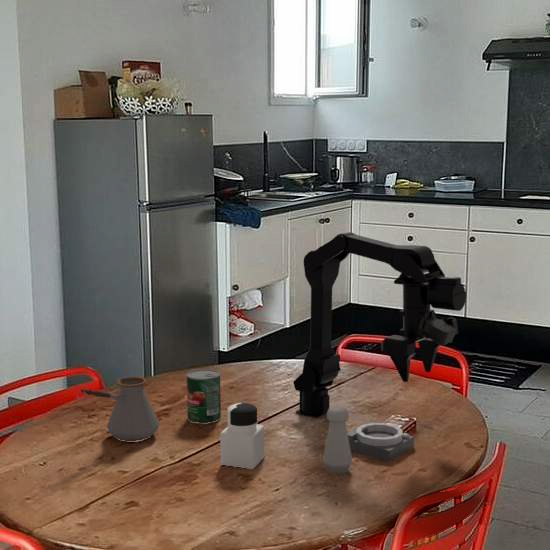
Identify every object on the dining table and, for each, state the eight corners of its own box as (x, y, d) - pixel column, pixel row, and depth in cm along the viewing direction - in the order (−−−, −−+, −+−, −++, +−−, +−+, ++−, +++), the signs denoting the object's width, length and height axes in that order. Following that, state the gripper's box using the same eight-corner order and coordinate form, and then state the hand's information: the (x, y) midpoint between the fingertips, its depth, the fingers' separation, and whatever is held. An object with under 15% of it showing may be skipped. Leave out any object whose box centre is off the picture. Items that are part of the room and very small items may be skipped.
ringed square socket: (344, 449, 182) (344, 431, 181) (369, 436, 190) (370, 419, 189) (389, 462, 175) (389, 443, 174) (413, 447, 183) (414, 429, 182)
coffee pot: (131, 424, 198) (129, 361, 195) (170, 433, 192) (168, 369, 189) (63, 454, 180) (59, 385, 178) (102, 465, 174) (99, 395, 172)
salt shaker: (350, 477, 168) (350, 414, 165) (321, 475, 169) (321, 412, 167) (353, 466, 173) (354, 404, 171) (325, 463, 174) (325, 402, 172)
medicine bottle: (265, 457, 178) (264, 402, 176) (253, 470, 172) (252, 413, 169) (233, 453, 180) (232, 398, 178) (220, 466, 174) (219, 409, 172)
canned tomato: (181, 422, 199) (180, 376, 197) (196, 411, 207) (195, 367, 205) (212, 426, 196) (211, 380, 194) (226, 415, 204) (226, 371, 202)
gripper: (427, 317, 170) (427, 393, 172) (472, 302, 184) (471, 373, 186) (379, 311, 177) (380, 384, 179) (426, 297, 191) (426, 365, 193)
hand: (416, 376), depth 184 cm, fingers open, 9 cm apart
